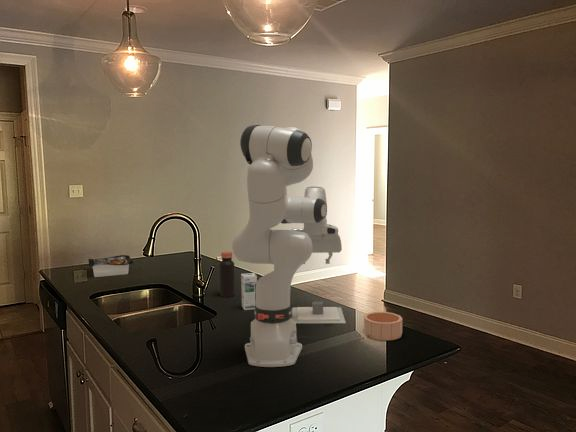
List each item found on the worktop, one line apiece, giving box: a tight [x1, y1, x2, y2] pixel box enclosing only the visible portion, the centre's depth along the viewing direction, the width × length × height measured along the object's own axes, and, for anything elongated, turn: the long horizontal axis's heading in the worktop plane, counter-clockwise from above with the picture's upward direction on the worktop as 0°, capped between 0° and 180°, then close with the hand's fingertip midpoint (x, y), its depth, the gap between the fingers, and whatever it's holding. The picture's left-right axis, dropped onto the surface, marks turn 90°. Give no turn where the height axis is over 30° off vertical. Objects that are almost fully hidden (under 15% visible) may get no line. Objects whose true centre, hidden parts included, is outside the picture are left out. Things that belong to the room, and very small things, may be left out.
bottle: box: [219, 251, 236, 298], centre depth 223 cm, size 7×7×20 cm
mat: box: [291, 306, 347, 324], centre depth 190 cm, size 20×20×1 cm
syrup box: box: [240, 272, 258, 311], centre depth 203 cm, size 6×6×14 cm
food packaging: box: [88, 254, 134, 278], centre depth 274 cm, size 25×8×23 cm
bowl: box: [363, 311, 403, 342], centre depth 171 cm, size 13×13×6 cm
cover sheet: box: [296, 301, 340, 322], centre depth 190 cm, size 16×16×5 cm
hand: (315, 263), depth 188 cm, fingers open, 8 cm apart
